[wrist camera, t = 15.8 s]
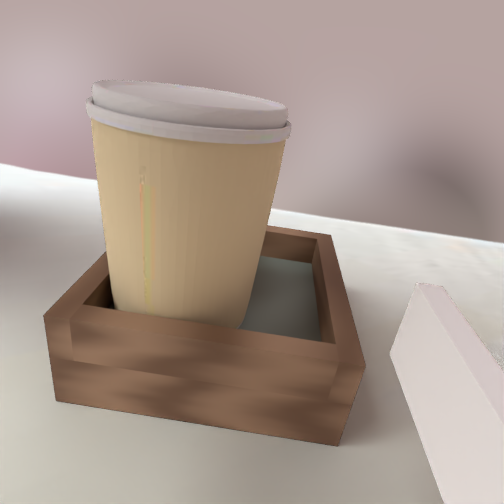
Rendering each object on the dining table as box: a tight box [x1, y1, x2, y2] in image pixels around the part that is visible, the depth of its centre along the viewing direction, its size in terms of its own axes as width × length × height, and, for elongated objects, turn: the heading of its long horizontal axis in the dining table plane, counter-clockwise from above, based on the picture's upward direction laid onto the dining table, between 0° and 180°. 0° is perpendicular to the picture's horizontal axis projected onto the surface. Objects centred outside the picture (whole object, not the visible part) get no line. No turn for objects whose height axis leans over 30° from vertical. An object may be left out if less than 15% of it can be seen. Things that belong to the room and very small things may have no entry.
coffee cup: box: [86, 80, 291, 329], centre depth 20 cm, size 9×9×12 cm
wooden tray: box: [43, 225, 366, 446], centre depth 25 cm, size 15×15×6 cm
